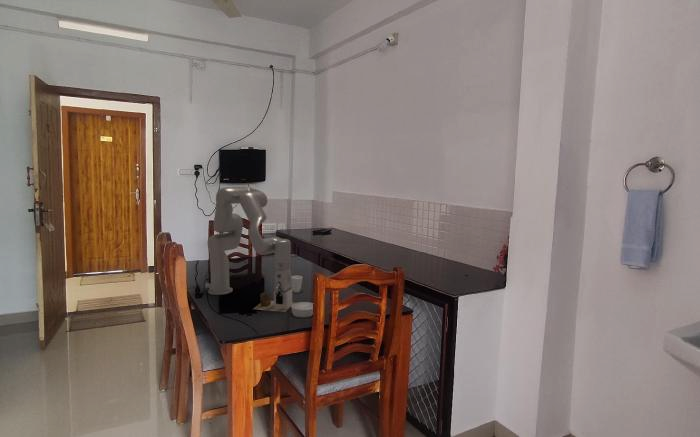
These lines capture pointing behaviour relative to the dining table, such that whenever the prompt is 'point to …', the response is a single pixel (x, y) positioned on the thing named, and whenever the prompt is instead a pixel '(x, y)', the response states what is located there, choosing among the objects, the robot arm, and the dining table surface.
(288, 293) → the matte grey cube
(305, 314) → the ramekin
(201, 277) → the dining table surface
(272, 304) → the post board
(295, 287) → the cup
